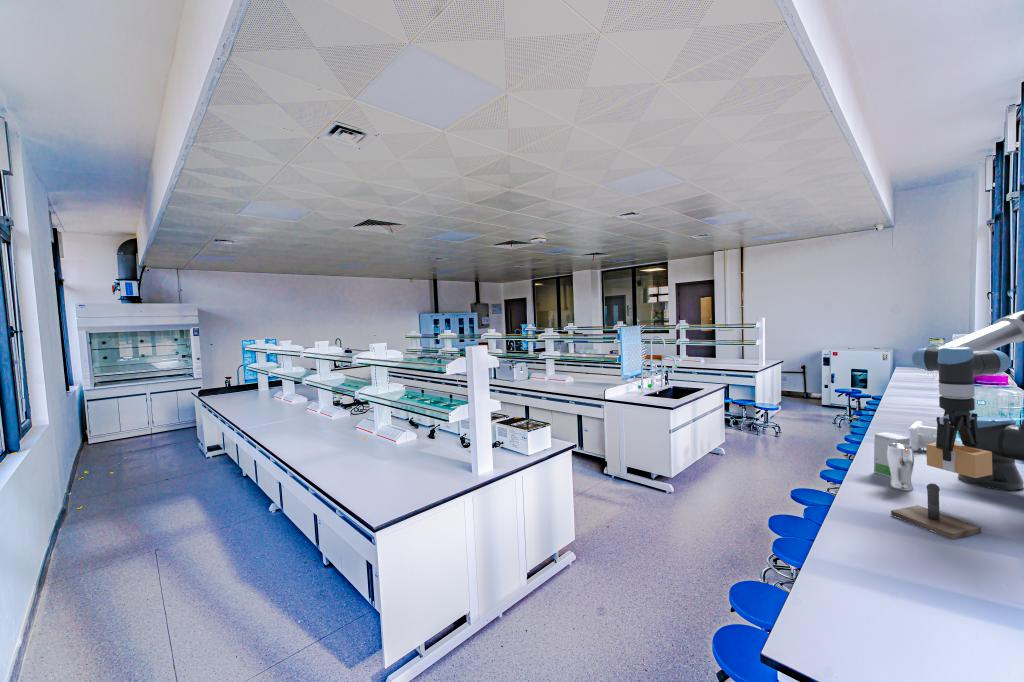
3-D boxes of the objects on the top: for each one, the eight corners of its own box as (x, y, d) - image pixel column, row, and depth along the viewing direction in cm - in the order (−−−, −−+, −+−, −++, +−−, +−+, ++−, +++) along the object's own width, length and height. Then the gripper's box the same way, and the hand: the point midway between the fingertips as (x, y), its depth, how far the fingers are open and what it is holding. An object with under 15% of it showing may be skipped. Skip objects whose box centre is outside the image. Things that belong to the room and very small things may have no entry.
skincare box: (873, 472, 160) (872, 433, 160) (885, 470, 162) (885, 431, 161) (898, 480, 152) (897, 439, 152) (911, 477, 154) (910, 436, 153)
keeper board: (917, 509, 130) (916, 472, 130) (980, 532, 116) (980, 490, 115) (891, 515, 128) (890, 477, 127) (952, 539, 113) (951, 496, 113)
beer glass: (893, 490, 144) (892, 448, 144) (884, 482, 151) (883, 442, 150) (919, 492, 142) (918, 449, 141) (908, 484, 148) (907, 443, 148)
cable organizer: (943, 457, 171) (942, 430, 171) (908, 452, 180) (908, 426, 179) (949, 449, 180) (949, 423, 180) (916, 444, 189) (915, 419, 188)
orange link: (926, 465, 134) (926, 444, 134) (942, 462, 135) (942, 441, 135) (975, 478, 122) (975, 455, 122) (992, 474, 124) (991, 451, 123)
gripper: (963, 391, 134) (965, 460, 135) (918, 398, 129) (920, 469, 130) (995, 394, 126) (997, 468, 127) (948, 402, 122) (950, 478, 123)
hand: (958, 468), depth 129 cm, fingers closed on orange link, 7 cm apart
